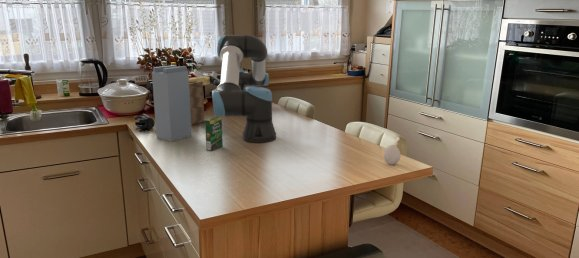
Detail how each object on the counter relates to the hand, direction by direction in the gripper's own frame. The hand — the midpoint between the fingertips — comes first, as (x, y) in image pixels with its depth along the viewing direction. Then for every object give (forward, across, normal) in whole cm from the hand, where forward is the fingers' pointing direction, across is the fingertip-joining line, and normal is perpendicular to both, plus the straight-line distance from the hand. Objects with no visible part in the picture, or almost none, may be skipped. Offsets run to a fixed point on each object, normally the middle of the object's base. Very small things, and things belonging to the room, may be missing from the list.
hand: (203, 72), depth 235 cm
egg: (0, -112, -29) cm, 116 cm away
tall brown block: (-3, 0, -27) cm, 27 cm away
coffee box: (+21, -44, -41) cm, 63 cm away
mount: (+18, -16, -39) cm, 46 cm away
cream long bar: (+4, 0, -10) cm, 11 cm away
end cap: (+17, +7, -39) cm, 43 cm away
